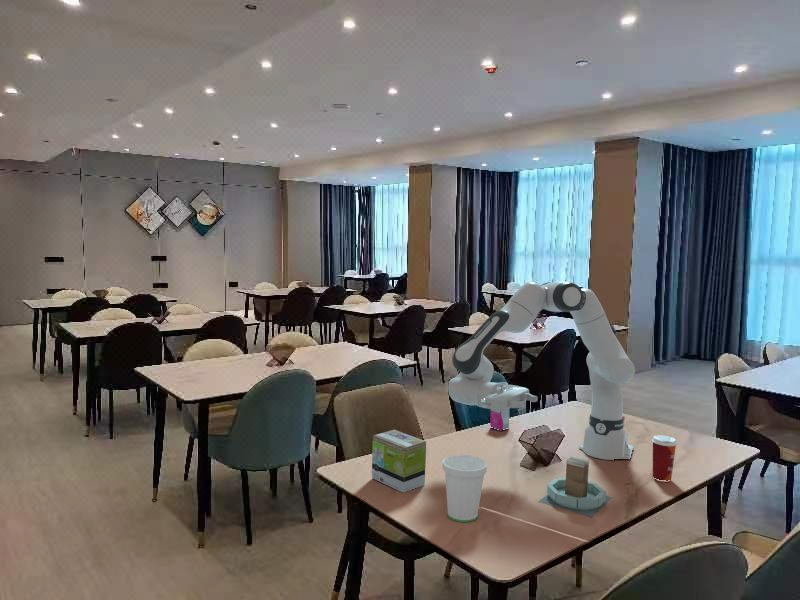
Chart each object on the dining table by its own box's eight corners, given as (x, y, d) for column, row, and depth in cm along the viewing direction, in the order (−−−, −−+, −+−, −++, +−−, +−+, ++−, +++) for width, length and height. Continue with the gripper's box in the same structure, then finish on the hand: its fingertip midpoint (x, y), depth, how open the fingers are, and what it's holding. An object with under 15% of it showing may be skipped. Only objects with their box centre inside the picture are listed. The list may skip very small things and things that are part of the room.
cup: (493, 515, 167) (495, 462, 166) (467, 530, 158) (470, 474, 157) (457, 502, 176) (459, 451, 174) (431, 515, 166) (433, 462, 165)
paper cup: (677, 484, 194) (680, 443, 192) (651, 482, 195) (654, 440, 194) (671, 476, 201) (674, 435, 200) (647, 473, 203) (649, 433, 202)
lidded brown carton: (570, 491, 183) (572, 455, 182) (587, 495, 180) (589, 459, 179) (564, 496, 178) (566, 460, 177) (581, 501, 175) (583, 464, 174)
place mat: (561, 484, 191) (561, 483, 191) (611, 498, 182) (612, 497, 181) (538, 502, 177) (538, 501, 177) (591, 518, 167) (591, 517, 167)
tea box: (370, 479, 191) (371, 434, 190) (392, 471, 198) (394, 428, 197) (403, 494, 180) (404, 446, 179) (425, 485, 187) (427, 439, 186)
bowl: (560, 484, 190) (561, 474, 190) (610, 498, 181) (611, 487, 180) (540, 500, 177) (540, 489, 177) (592, 516, 168) (593, 504, 168)
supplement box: (498, 425, 253) (499, 399, 252) (509, 429, 249) (510, 402, 248) (489, 428, 249) (490, 401, 248) (500, 431, 245) (501, 404, 244)
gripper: (477, 392, 191) (516, 399, 183) (505, 381, 207) (543, 386, 199) (476, 411, 191) (516, 419, 183) (505, 398, 208) (542, 405, 200)
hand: (530, 402), depth 191 cm, fingers open, 8 cm apart
